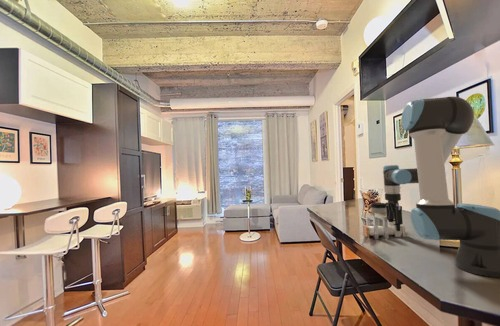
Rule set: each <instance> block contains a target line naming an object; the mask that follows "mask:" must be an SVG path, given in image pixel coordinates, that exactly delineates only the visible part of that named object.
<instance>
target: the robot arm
mask: <svg viewBox="0 0 500 326" xmlns="http://www.w3.org/2000/svg"><path fill="white" fill-rule="evenodd" d="M474 120H475V112H474V109H473V107H472V104H470V103H469V102H468V100H465V98H462V97H459V96H444V97H435V98H434V97H433V98H420V99H415V100H411V101H409V102H407V104H406V105H404V109H403V111H402V113H401V121H400V123H401V124H400V125H401V127H402V130H404V131H406V132H408V136H409V137H411V138H412V139H413V142H414V152H415V161H416V162H415V163H416V168H399V165H397V164H390V165H384V166H383V169H382V173H383V174H382V175H383V186H384V187H383V188H384V189H383V190H384V193H385V194H384V200H386V201H387V202H384V203H385V204H386V217H387V222H388V226H394V230H395V235H394V237H395V238H401V237H402V236H401V231H400V225H403V223H404V221H403V207H402V205H399V201H401V196H402V195H401V185H407V184H418V190H419V191H418V192H419V199H418V201H417V202H415V205H416V207H414V208H412V209H411V211H410V221H411V224H412V226H413V229H414V230H415V232H416V233H417V235H418V236H420V238H423V239H424V240H433V241H459V246H458V248H457V252H456V255H455V257H454V264H455V266H456V267H457V268H459V269H461V270H463V271H466V272H468V273H470V274H474V275H478V274H479V276H482V275H484V276H483V277H488V276H490V277H489V278H496V277H500V210H499V209H498V208H496V207H492V206H487V205H481V204H474V203H473V204H472V203H465V202H464V203H463V202H462V203H461V202H460V203H457V204H456V205H455V203H454V202H453V201H451V200H450V199H449V191H448V185H447V184H448V183H447V175H446V167H445V166H446V165H445V163H446V162H447V160H448V158H449V157H450V155H451V154H452V152H453V151H454V149H455V147H456V145H457V144H458V142H459V140H460V139H461V138H462V136H463V135H465V134H467V133H468V132H469V130H470V128H471V127H472V125H473V123H474Z"/></svg>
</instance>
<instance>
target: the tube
mask: <svg viewBox="0 0 500 326" xmlns="http://www.w3.org/2000/svg"><path fill="white" fill-rule="evenodd" d="M400 231H401V237H403V238H404V237H406V226H405V225H403V224H401V225H400ZM362 234H363V236H364V237H366V238H370V236H373V237H374V227H373V225H371V226H366V224H362ZM378 236H384V232H383V226H378ZM388 236H395V230H394V226H389V225H388Z"/></svg>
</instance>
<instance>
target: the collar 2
mask: <svg viewBox="0 0 500 326" xmlns="http://www.w3.org/2000/svg"><path fill="white" fill-rule="evenodd" d="M375 216H376V217H377V220H378V226H380V223H379V218H380V219H382V220H383V232H384V235H383V239H385V240H386V239H387V240H388V239H389V238H390V237H389V235H388V226H389V221H388V220H387V216H384V215H382V214H379V213H375Z"/></svg>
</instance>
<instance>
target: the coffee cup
mask: <svg viewBox="0 0 500 326" xmlns="http://www.w3.org/2000/svg"><path fill="white" fill-rule="evenodd" d="M385 203H386V202H371V203H370V205H369V207H370V209H371V214H372V215H374V216H375V213H379V214H382V215H384V216H386V204H385ZM386 217H387V216H386ZM379 223H380V226H383V220H382V219H380V218H379Z"/></svg>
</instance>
